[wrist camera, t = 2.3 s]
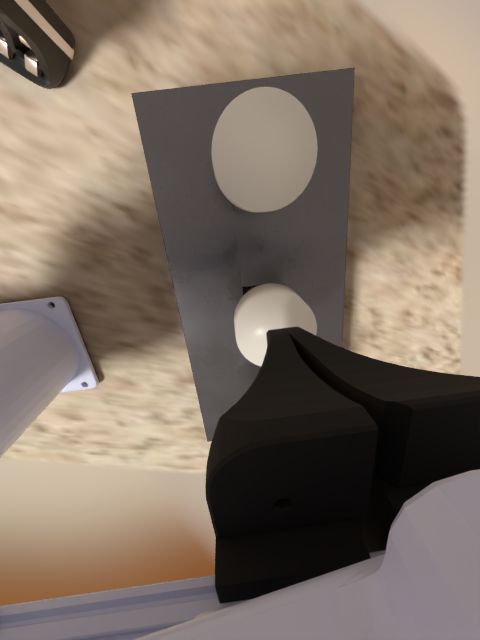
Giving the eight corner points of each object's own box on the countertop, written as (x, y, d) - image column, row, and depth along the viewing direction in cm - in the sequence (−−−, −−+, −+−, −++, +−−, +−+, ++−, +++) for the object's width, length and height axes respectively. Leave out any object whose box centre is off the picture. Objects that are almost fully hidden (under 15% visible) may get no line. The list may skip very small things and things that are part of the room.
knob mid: (235, 332, 18) (240, 373, 13) (228, 276, 16) (230, 299, 12) (292, 325, 18) (316, 362, 13) (290, 268, 16) (317, 288, 12)
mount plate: (209, 415, 24) (207, 441, 21) (148, 115, 15) (131, 93, 12) (324, 399, 24) (338, 423, 21) (330, 94, 15) (354, 67, 13)
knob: (220, 216, 15) (219, 217, 10) (209, 134, 13) (203, 93, 9) (288, 208, 15) (317, 205, 10) (285, 125, 13) (317, 80, 9)
